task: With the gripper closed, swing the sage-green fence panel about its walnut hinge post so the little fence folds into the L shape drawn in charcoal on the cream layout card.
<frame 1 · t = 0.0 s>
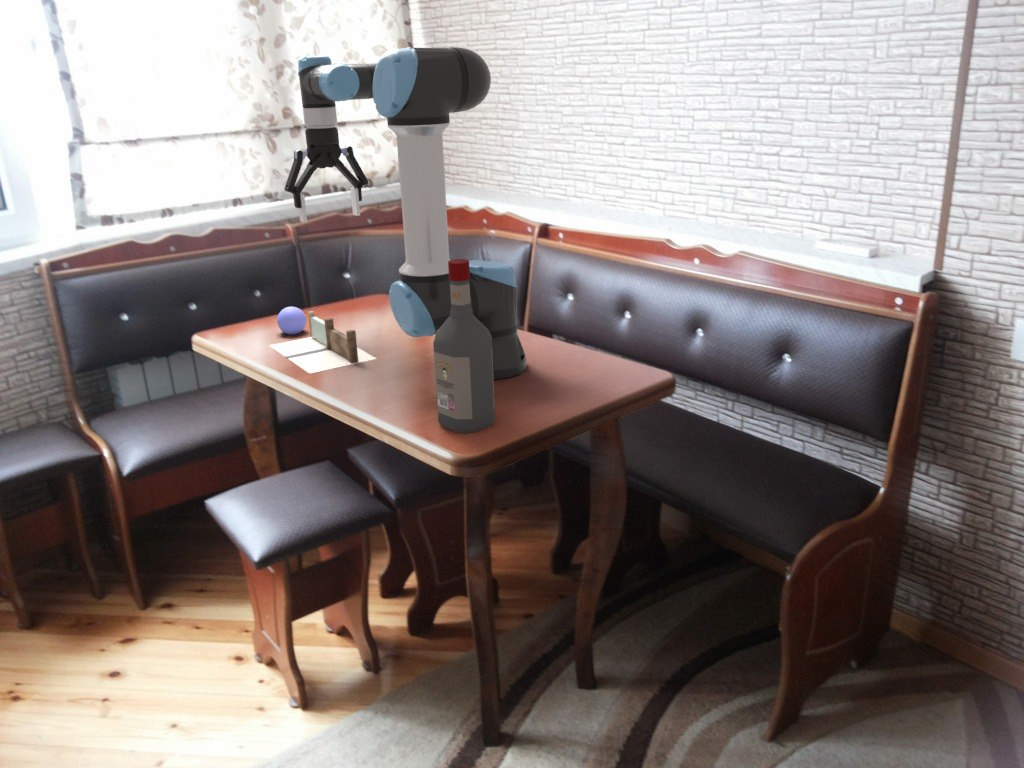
hand: (330, 218, 210), 28 cm above the table, tool pointing down, fingers open, 13 cm apart
layout card: (321, 353, 201), on the table
sphere: (293, 334, 217), on the table
liquor: (467, 424, 159), on the table
fixed fence section: (331, 348, 204), resting on layout card
folding fence panel: (319, 327, 207), point 4 cm above the table, hinge at 0.0°
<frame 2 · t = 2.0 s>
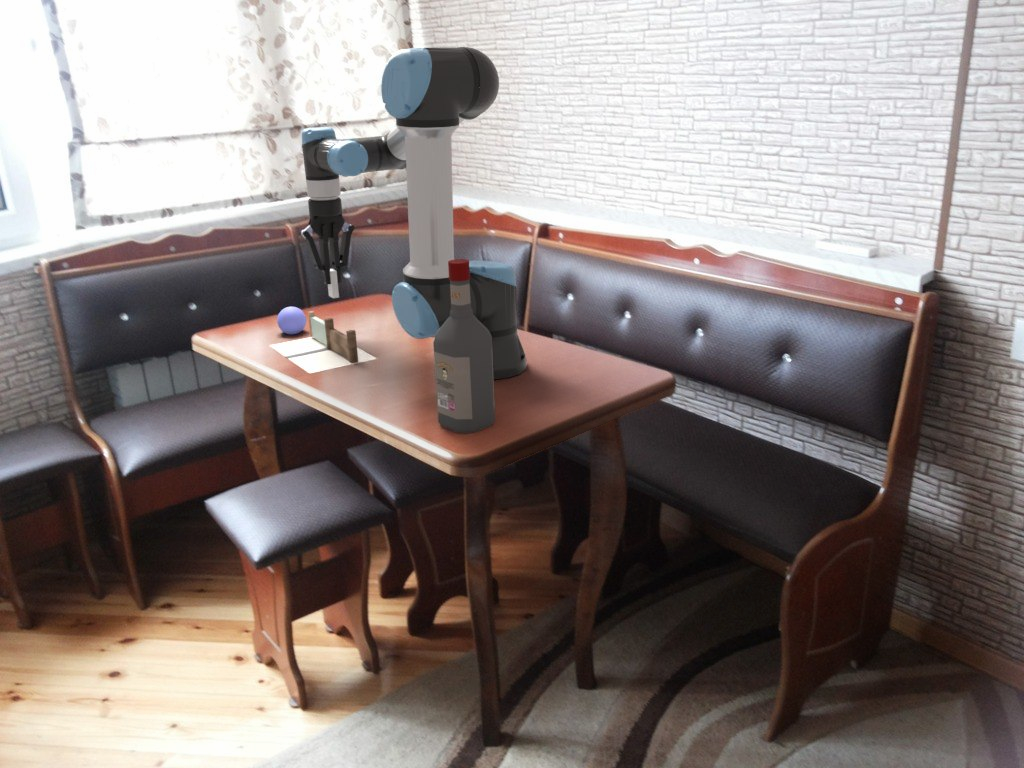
hand: (333, 296, 209), 10 cm above the table, tool pointing down, fingers closed
nothing on the table moved.
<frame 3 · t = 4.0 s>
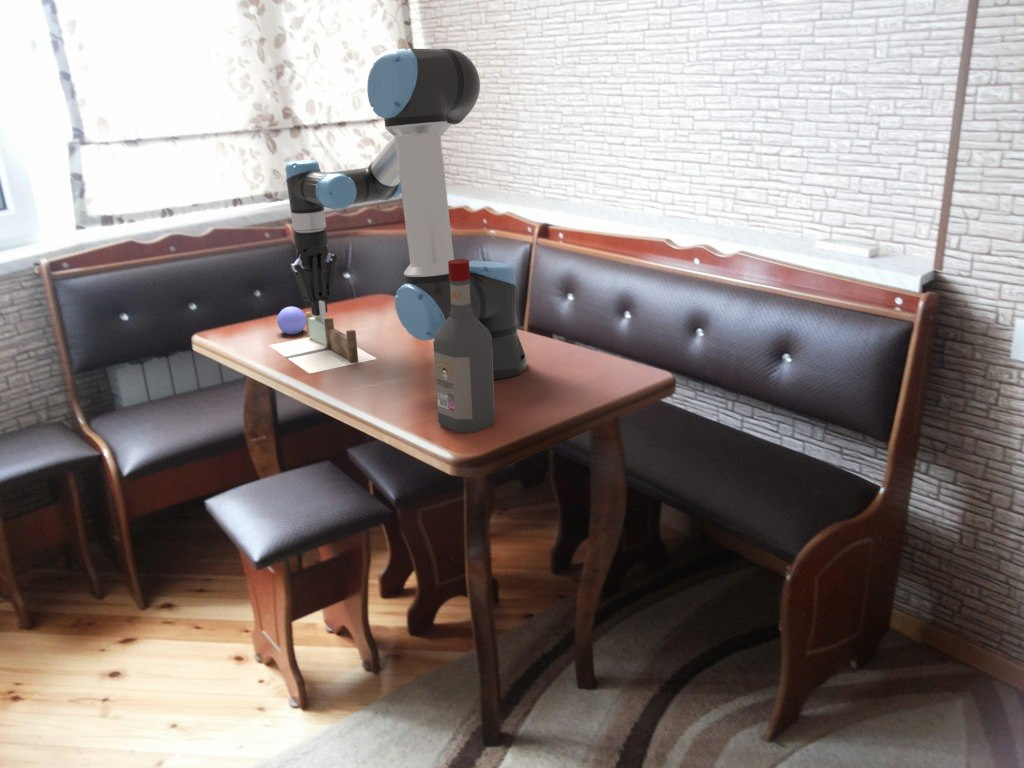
hand: (321, 327, 209), 4 cm above the table, tool pointing down, fingers closed
folding fence panel: (317, 328, 207), point 4 cm above the table, hinge at 4.2°, touching gripper
everything else where it was.
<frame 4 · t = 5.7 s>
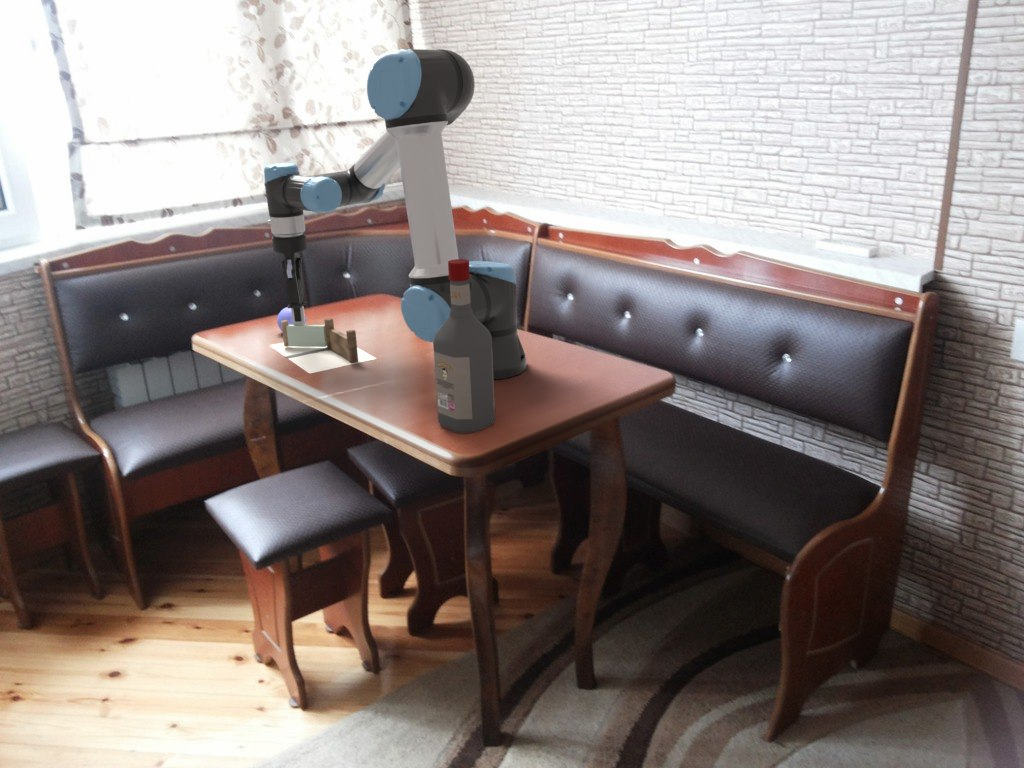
hand: (300, 333, 205), 3 cm above the table, tool pointing down, fingers closed
folding fence panel: (303, 333, 203), point 4 cm above the table, hinge at 48.2°, touching gripper
everything else where it was.
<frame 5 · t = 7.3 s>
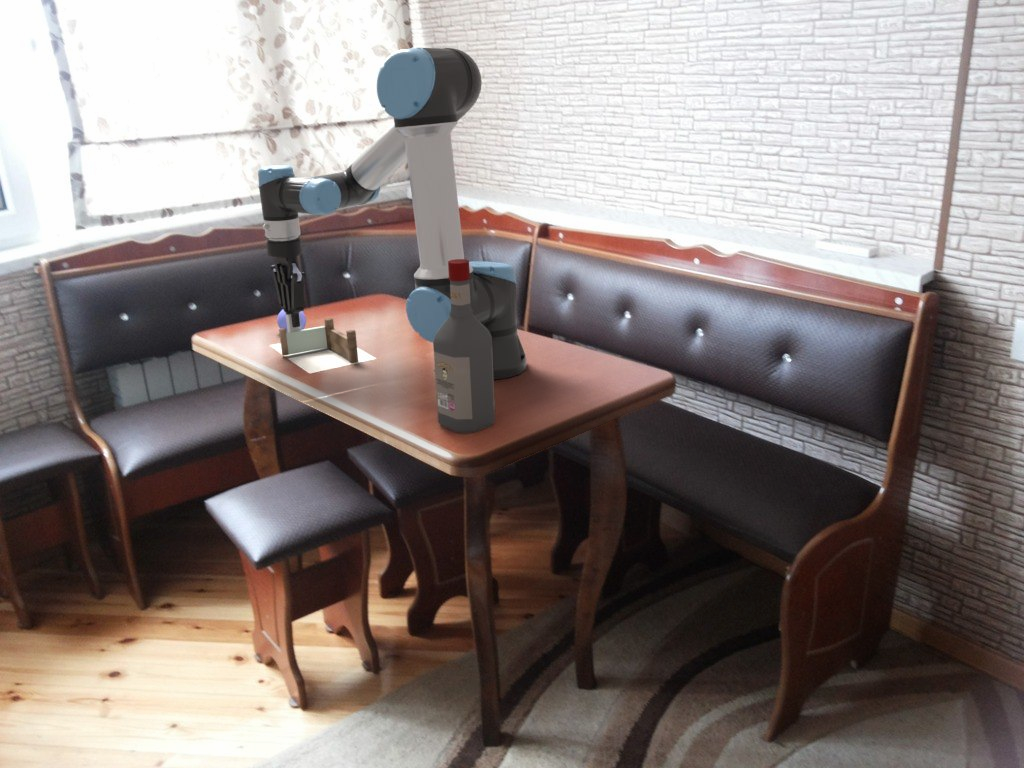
hand: (295, 339, 200), 4 cm above the table, tool pointing down, fingers closed
folding fence panel: (303, 338, 200), point 4 cm above the table, hinge at 84.8°, touching gripper
everything else where it was.
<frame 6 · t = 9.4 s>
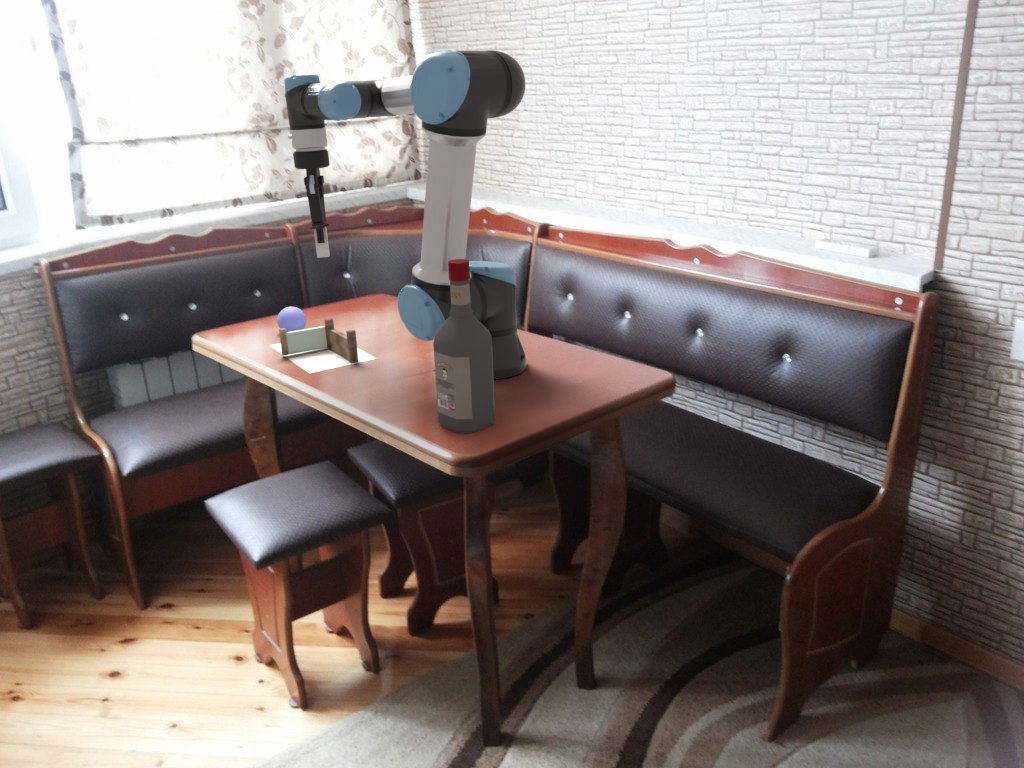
hand: (323, 256, 197), 22 cm above the table, tool pointing down, fingers closed
folding fence panel: (303, 338, 200), point 4 cm above the table, hinge at 84.9°
everything else where it was.
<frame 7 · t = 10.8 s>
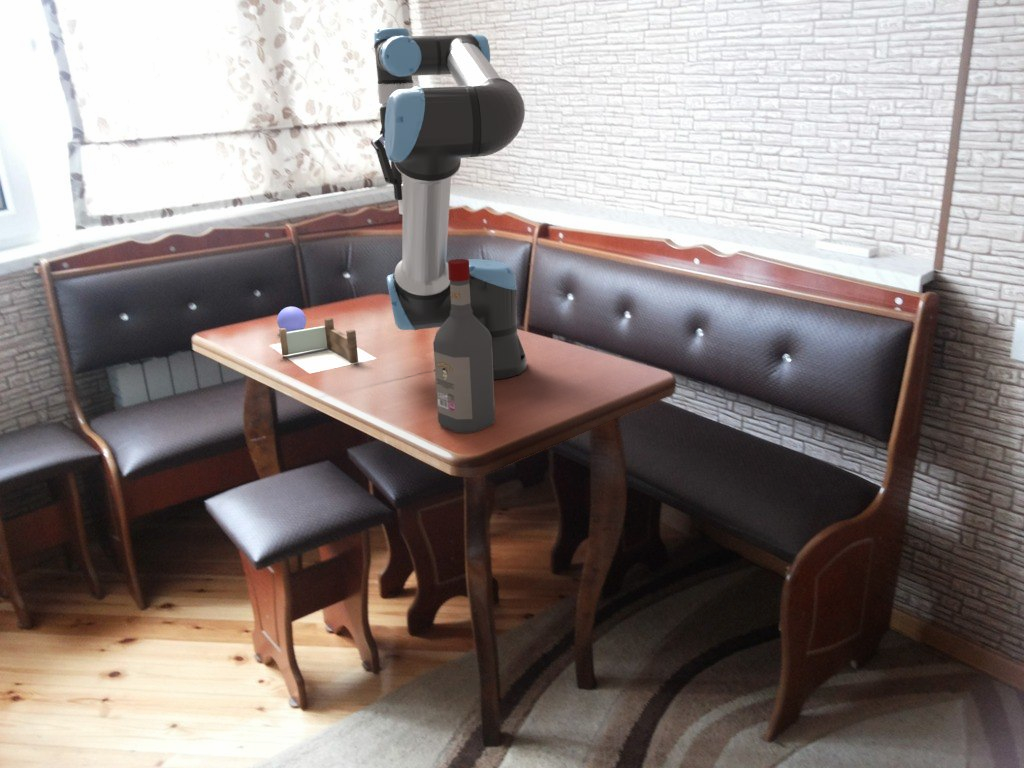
hand: (404, 214, 197), 30 cm above the table, tool pointing down, fingers closed
nothing on the table moved.
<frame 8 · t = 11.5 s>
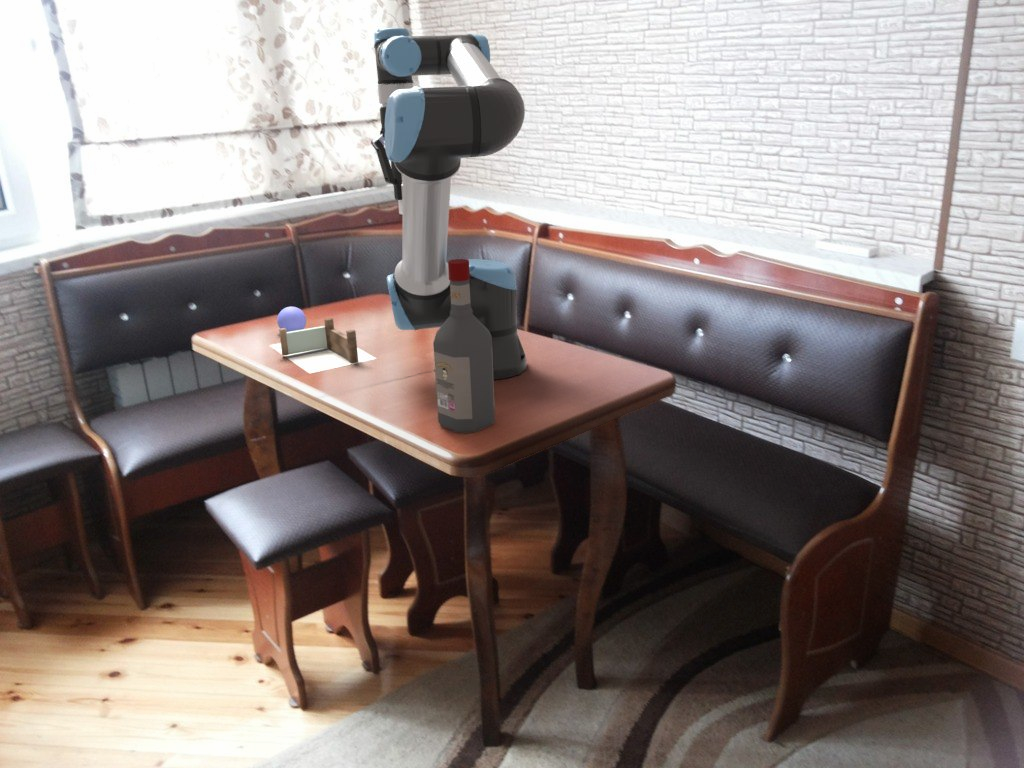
hand: (404, 214, 197), 30 cm above the table, tool pointing down, fingers closed
nothing on the table moved.
at the end: folding fence panel at +85° (first picture: +0°); sphere moved 0.2 cm from its start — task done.
